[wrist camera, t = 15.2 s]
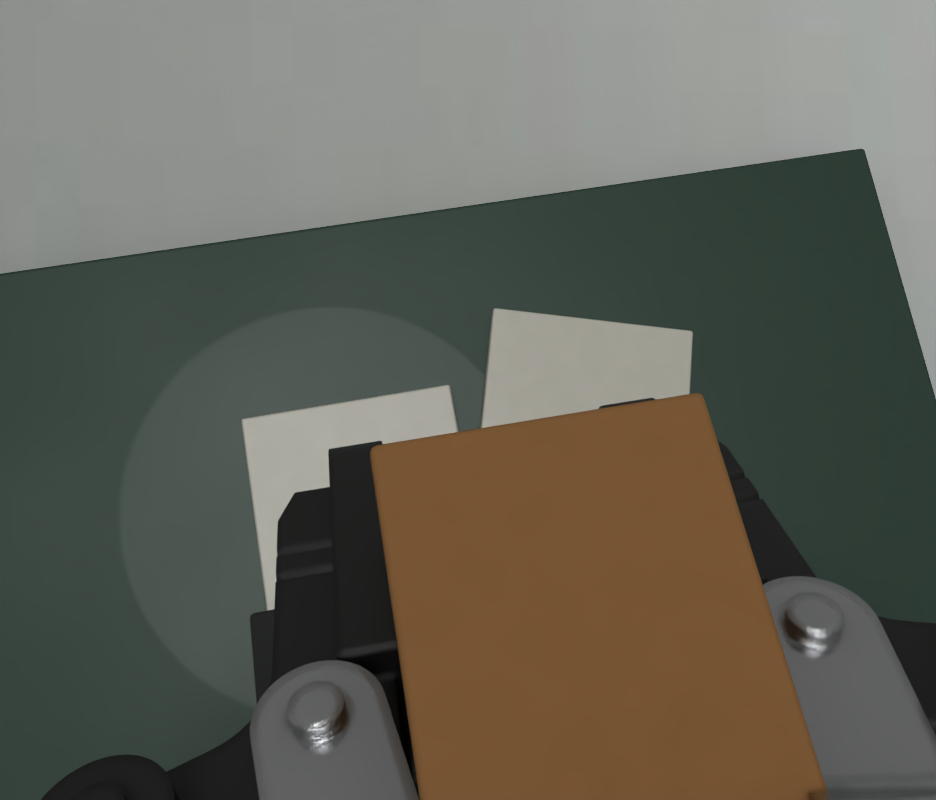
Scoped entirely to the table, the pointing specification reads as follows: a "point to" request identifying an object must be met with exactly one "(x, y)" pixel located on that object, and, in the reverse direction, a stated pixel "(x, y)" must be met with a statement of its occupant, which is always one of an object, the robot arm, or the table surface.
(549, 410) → the smudge
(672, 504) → the eraser
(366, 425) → the smudge
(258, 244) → the chalkboard
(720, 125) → the table surface
